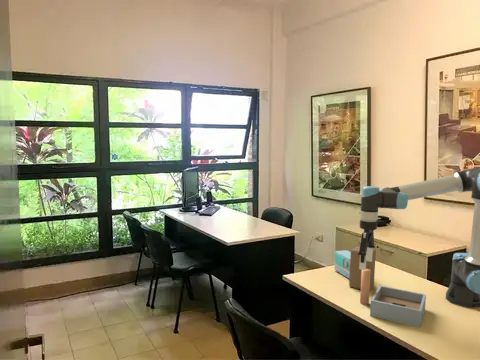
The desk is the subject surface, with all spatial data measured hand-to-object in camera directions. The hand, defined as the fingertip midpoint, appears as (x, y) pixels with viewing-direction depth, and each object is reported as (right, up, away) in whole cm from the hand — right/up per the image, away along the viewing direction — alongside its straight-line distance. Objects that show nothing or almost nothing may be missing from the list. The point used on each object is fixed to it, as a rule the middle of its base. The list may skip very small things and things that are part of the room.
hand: (365, 265), depth 178 cm
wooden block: (+5, -16, +22) cm, 28 cm away
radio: (+2, -14, +39) cm, 42 cm away
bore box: (+12, -19, -7) cm, 24 cm away
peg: (0, -18, +2) cm, 18 cm away
